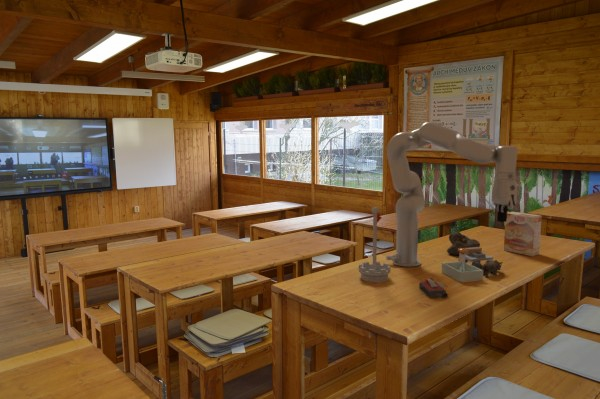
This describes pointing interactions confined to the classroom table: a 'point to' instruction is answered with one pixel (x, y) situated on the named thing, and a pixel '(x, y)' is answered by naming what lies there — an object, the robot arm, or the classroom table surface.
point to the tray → (469, 274)
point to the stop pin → (462, 259)
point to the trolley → (476, 256)
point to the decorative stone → (460, 243)
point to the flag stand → (374, 258)
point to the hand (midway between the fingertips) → (501, 221)
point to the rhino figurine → (491, 268)
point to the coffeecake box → (522, 233)
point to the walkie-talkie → (433, 289)
